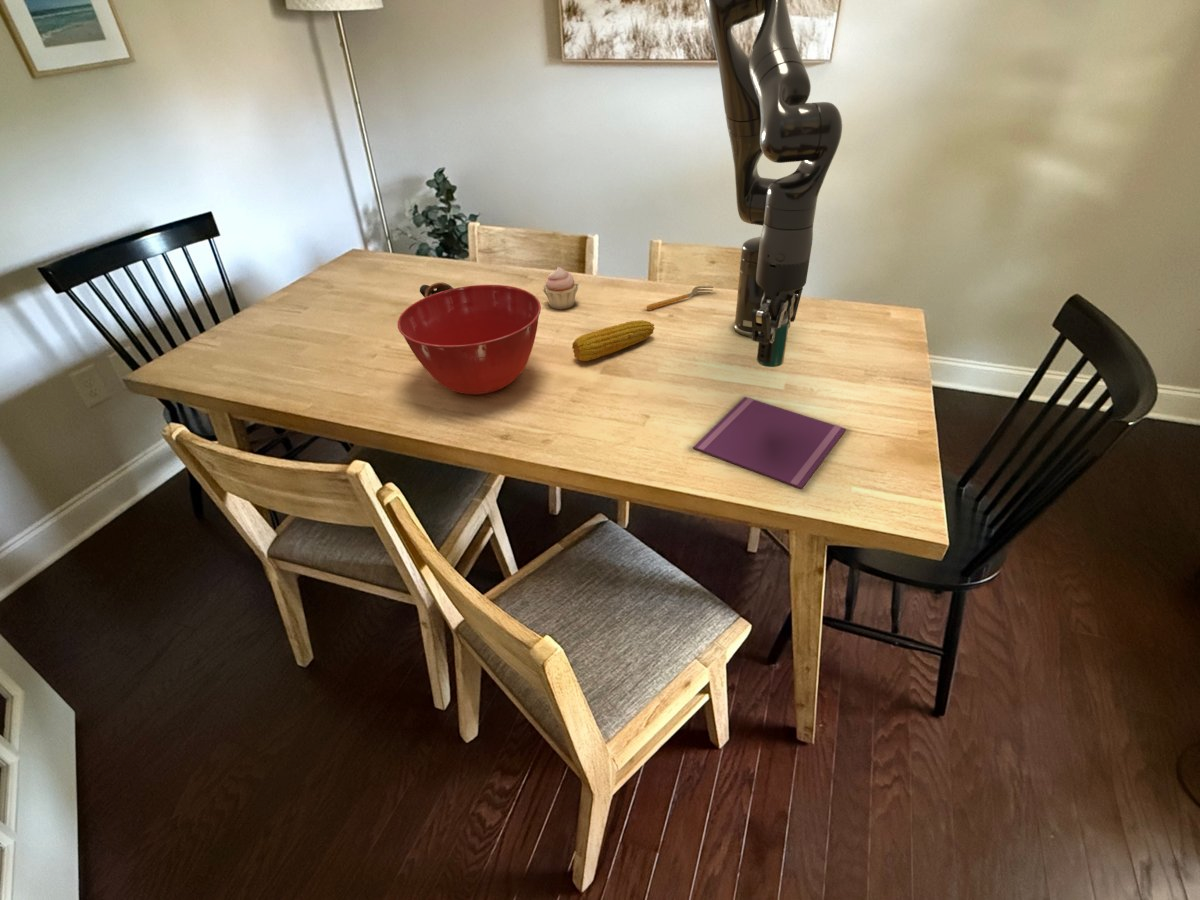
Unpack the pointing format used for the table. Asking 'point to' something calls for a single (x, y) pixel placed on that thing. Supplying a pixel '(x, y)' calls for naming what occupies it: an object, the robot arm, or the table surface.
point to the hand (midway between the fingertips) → (770, 354)
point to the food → (611, 339)
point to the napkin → (771, 441)
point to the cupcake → (560, 289)
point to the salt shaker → (778, 344)
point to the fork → (679, 297)
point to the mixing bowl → (473, 335)
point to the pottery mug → (429, 290)
